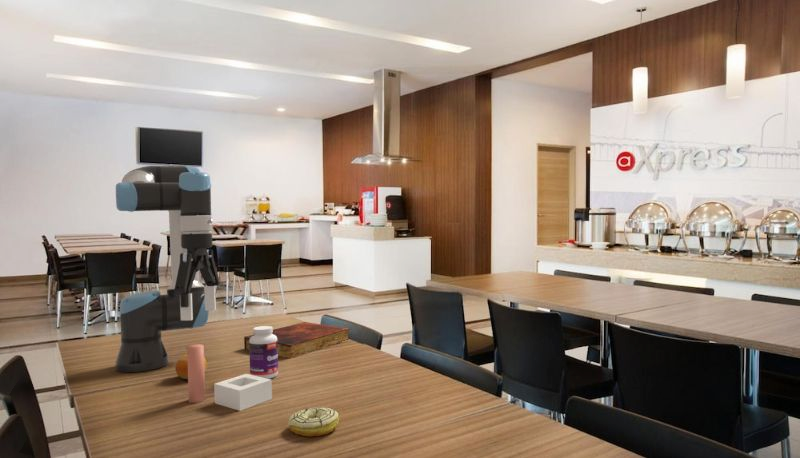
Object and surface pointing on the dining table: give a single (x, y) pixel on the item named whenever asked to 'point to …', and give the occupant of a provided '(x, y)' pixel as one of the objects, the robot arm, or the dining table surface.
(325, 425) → the decorated donut
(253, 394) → the socket block
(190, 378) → the peg
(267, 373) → the pill bottle
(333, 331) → the book
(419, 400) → the dining table surface
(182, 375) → the fruit
